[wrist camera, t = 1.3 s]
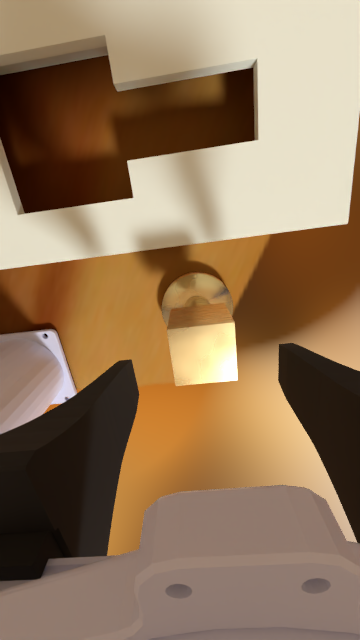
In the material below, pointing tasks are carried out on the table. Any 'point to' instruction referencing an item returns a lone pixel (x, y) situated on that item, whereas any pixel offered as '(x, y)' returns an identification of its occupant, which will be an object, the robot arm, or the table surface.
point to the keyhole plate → (210, 163)
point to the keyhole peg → (200, 329)
